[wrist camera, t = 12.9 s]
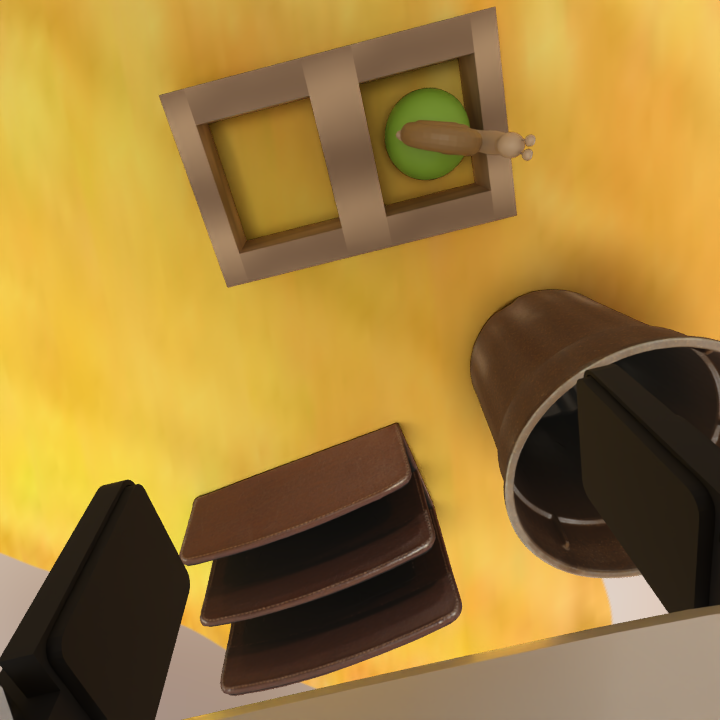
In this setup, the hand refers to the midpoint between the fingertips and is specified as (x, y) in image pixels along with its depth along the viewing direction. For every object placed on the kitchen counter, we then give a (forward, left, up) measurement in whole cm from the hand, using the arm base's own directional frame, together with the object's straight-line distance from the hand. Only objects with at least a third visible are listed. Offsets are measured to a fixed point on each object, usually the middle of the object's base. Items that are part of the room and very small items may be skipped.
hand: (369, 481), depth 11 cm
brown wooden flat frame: (-4, +2, -30) cm, 31 cm away
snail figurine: (-4, +8, -31) cm, 32 cm away
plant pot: (+15, +14, -31) cm, 37 cm away
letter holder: (+24, -8, -31) cm, 40 cm away
